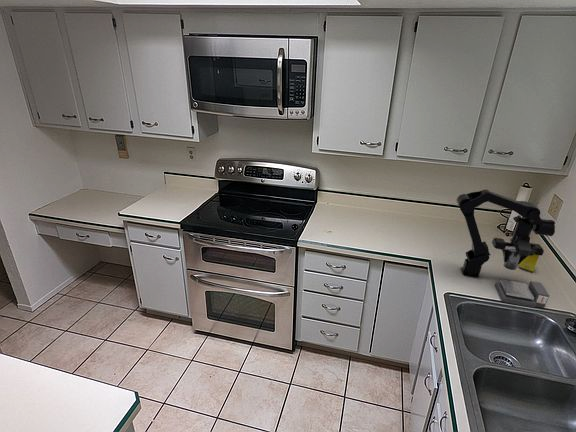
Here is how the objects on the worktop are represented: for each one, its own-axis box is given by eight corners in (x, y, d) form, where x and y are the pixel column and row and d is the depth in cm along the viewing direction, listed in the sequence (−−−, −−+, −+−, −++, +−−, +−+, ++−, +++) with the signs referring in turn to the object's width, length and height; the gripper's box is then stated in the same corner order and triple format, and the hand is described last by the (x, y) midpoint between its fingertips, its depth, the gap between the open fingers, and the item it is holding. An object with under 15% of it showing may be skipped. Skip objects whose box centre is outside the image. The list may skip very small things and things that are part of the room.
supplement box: (520, 263, 174) (527, 244, 170) (534, 268, 171) (542, 248, 167) (518, 268, 170) (525, 248, 166) (532, 273, 167) (540, 253, 162)
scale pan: (506, 294, 145) (507, 292, 145) (499, 281, 154) (500, 279, 153) (533, 299, 143) (534, 297, 142) (525, 285, 152) (526, 283, 151)
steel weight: (505, 268, 157) (510, 253, 153) (502, 263, 161) (507, 247, 158) (517, 270, 156) (523, 255, 152) (514, 265, 160) (519, 249, 157)
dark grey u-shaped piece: (502, 301, 146) (506, 289, 143) (494, 285, 156) (498, 273, 154) (545, 309, 142) (551, 297, 140) (534, 292, 153) (539, 280, 150)
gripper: (503, 236, 146) (492, 268, 152) (554, 244, 142) (541, 276, 148) (496, 225, 156) (486, 255, 162) (544, 232, 152) (532, 263, 158)
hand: (511, 262), depth 157 cm, fingers closed on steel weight, 5 cm apart
